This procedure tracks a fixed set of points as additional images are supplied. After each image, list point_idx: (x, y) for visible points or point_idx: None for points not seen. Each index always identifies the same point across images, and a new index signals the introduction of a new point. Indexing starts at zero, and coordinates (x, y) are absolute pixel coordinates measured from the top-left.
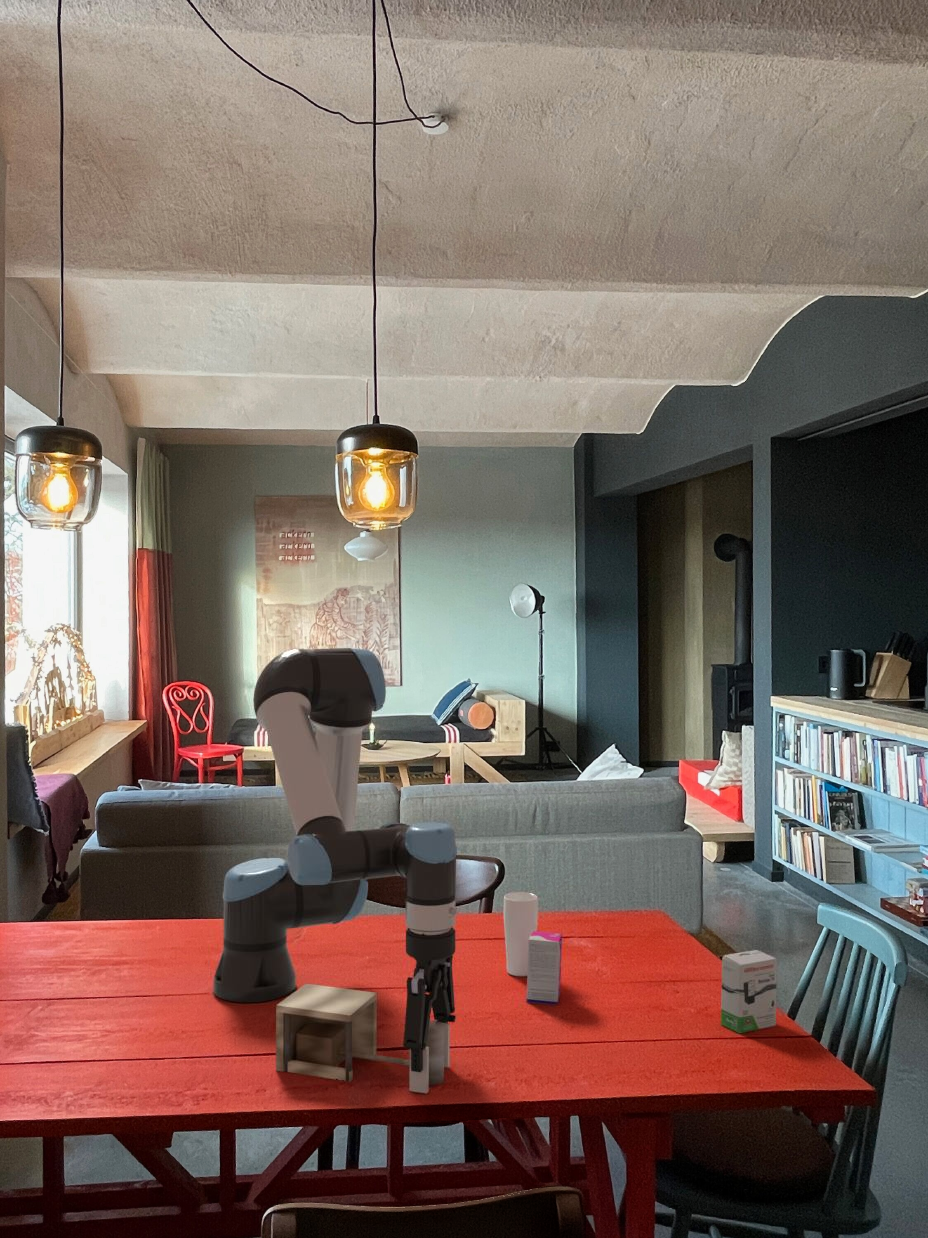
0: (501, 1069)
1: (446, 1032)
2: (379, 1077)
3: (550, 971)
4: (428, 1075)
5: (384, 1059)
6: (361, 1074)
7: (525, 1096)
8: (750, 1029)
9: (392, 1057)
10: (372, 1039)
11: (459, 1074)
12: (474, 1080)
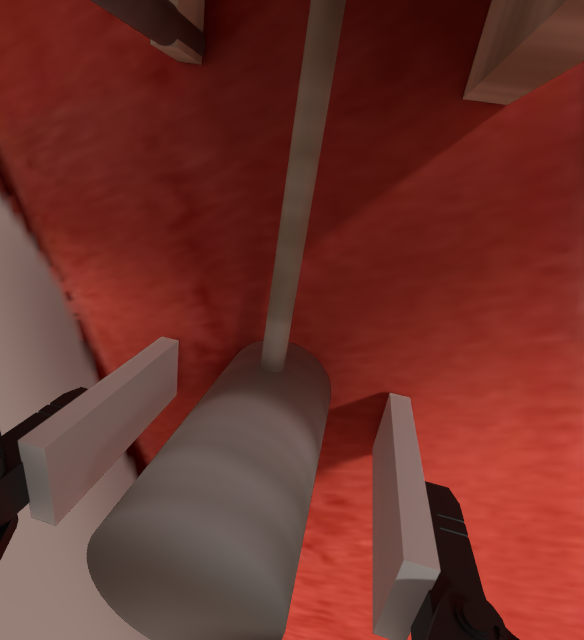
0: None
1: (376, 579)
2: (257, 193)
3: None
4: (142, 429)
5: (282, 211)
6: (270, 91)
7: None
8: None
9: (287, 257)
10: (499, 56)
11: (335, 476)
12: None
